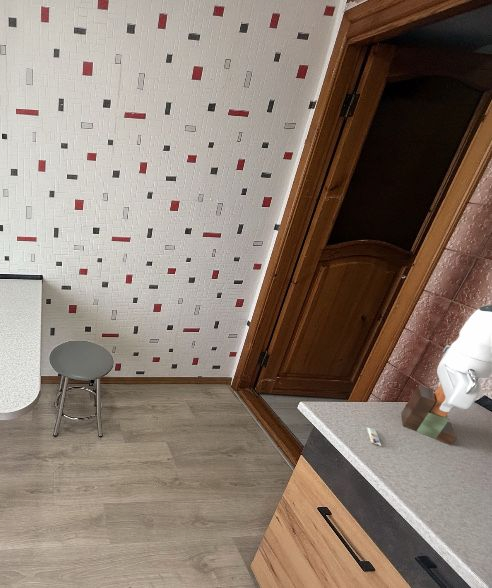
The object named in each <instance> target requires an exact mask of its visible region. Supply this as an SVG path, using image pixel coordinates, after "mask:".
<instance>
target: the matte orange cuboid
mask: <svg viewBox="0 0 492 588" xmlns="http://www.w3.org/2000/svg"><path fill="white" fill-rule="evenodd" d="M438 386H439V387H438ZM438 386H437V388H436V390H435V391H434V392H433V393H434V396H435V400H436V402H435V404H434V406H433V407H432V409H431V410H430V412H433V413H436V414H438V415H441V416H444V417H446V415H447V416H448V414H449V412H444V411H442V410H440V408H439V405H440V404H441V402H444V401H445V395H444V392H443V389H442V386H441V384H440V385H439V384H438Z"/></svg>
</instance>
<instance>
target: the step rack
mask: <svg viewBox="0 0 492 588" xmlns="http://www.w3.org/2000/svg"><path fill="white" fill-rule="evenodd" d="M434 393H435V392H434V390H433V389H432V388H429V387H427V386H424V385H420V384H418V385H417V386H416V388H415V390H414V391H413V393H412V395H411V396H410V398H409V400H408V401H407V403H406V405H405V406H404V408H403V409H402V411H401V413H400V415H401V422H402V427H404V428H407V429H410V430H412V431H415V432H417V433H419V434H422V435H424V436H427V437H430V438H432V439H434V440H437V441H440V442H442V443H444V444H447V445H449V446H451V445H452V444H453V443H454V442H455V440H456V439H457V435H456V432H455V428H454V426H453V423H452V422H449V417H448V414H447V415H446V417H444V416H441V415H438V414H436V413H433V412H430V410H431V409H432V407H433V406H434V404H435V402H436V400H435V396H434Z"/></svg>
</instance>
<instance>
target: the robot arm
mask: <svg viewBox="0 0 492 588" xmlns="http://www.w3.org/2000/svg"><path fill="white" fill-rule="evenodd" d="M436 375H437V377H438V380H439V383H438V386H437V388H438V387H439V385H440V384H441V386H442V389H443V392H444V395H445V401H444V402H441V404H440V405H439V408H440V410H442V411H444V412H448V413H450V411H451V410H452V409H453V408H457V409H459V410H461V411H462V410H463V411H468V410H469V409H470V408H471V407H472V405H473V404H474V402H475V400H476V399H477V397H478V396H479V394H480V392H481V389H482V385H481V383H480V379H488V378H490V377H491V376H492V304H490V305H484V306H481V307H478V309H476V310H475V311H474V312H473V313H472V314H471V315H470V316H469V317H468V319H467V320H466V321H465V322H464V324H463V326H461V329H460V330H459V332H458V337H457V338H456V340H454V341H453V342H452V343H451V344H450V345H448V344H447V345H446V346H445V347H444V349H443V355H442V358H441V359H440V361H439V364H438V366H437V369H436Z"/></svg>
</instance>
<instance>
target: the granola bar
mask: <svg viewBox="0 0 492 588" xmlns="http://www.w3.org/2000/svg"><path fill="white" fill-rule="evenodd" d="M365 428H366V429H367V433H368V435H369V436H368V437H369V438H370V444H374V445H377V446H379V447H381V446H382V444H381V440H380V438H379V435H378V431H377V429H374V428H371V427H368V426H366V427H365Z"/></svg>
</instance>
